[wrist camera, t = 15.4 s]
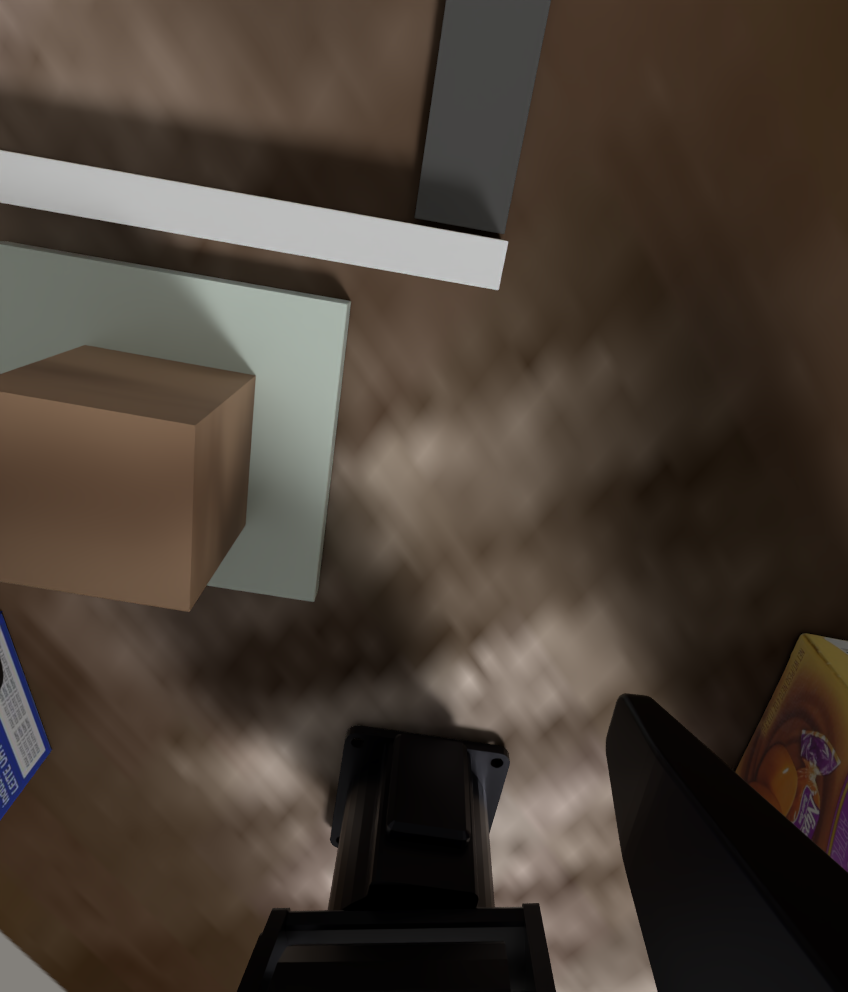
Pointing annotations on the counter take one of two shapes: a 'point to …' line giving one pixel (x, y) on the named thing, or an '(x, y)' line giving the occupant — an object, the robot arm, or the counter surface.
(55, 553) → the block
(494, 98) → the channel
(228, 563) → the pad
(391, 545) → the counter surface
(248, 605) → the counter surface
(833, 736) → the candy box
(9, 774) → the milk carton
